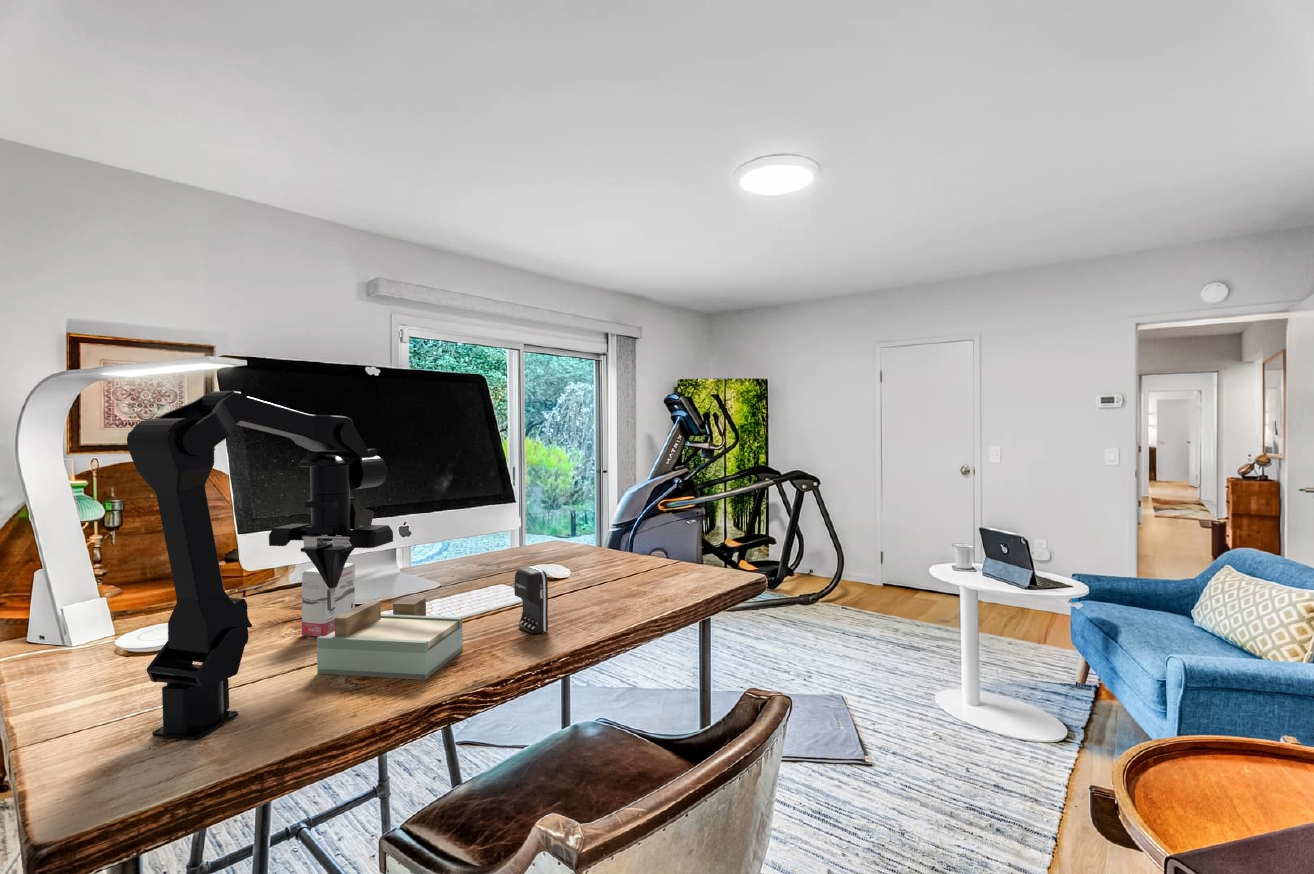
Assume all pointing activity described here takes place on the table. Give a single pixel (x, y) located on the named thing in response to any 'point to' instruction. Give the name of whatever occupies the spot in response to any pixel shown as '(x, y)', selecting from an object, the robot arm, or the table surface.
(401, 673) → the pale green tray
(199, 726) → the robot arm
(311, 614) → the ink box
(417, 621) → the lid
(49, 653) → the table surface
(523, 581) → the black handheld device
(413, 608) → the small brown rectangular block
